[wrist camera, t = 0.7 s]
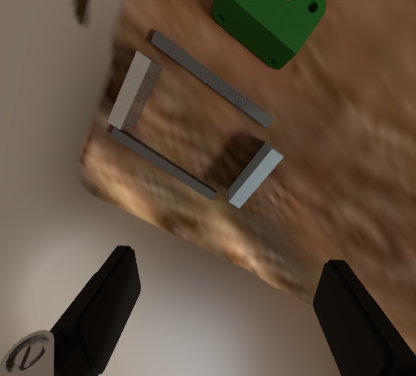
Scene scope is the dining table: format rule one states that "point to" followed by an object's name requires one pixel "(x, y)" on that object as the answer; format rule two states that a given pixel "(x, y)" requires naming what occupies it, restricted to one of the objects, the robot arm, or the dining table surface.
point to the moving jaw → (254, 174)
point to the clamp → (270, 25)
